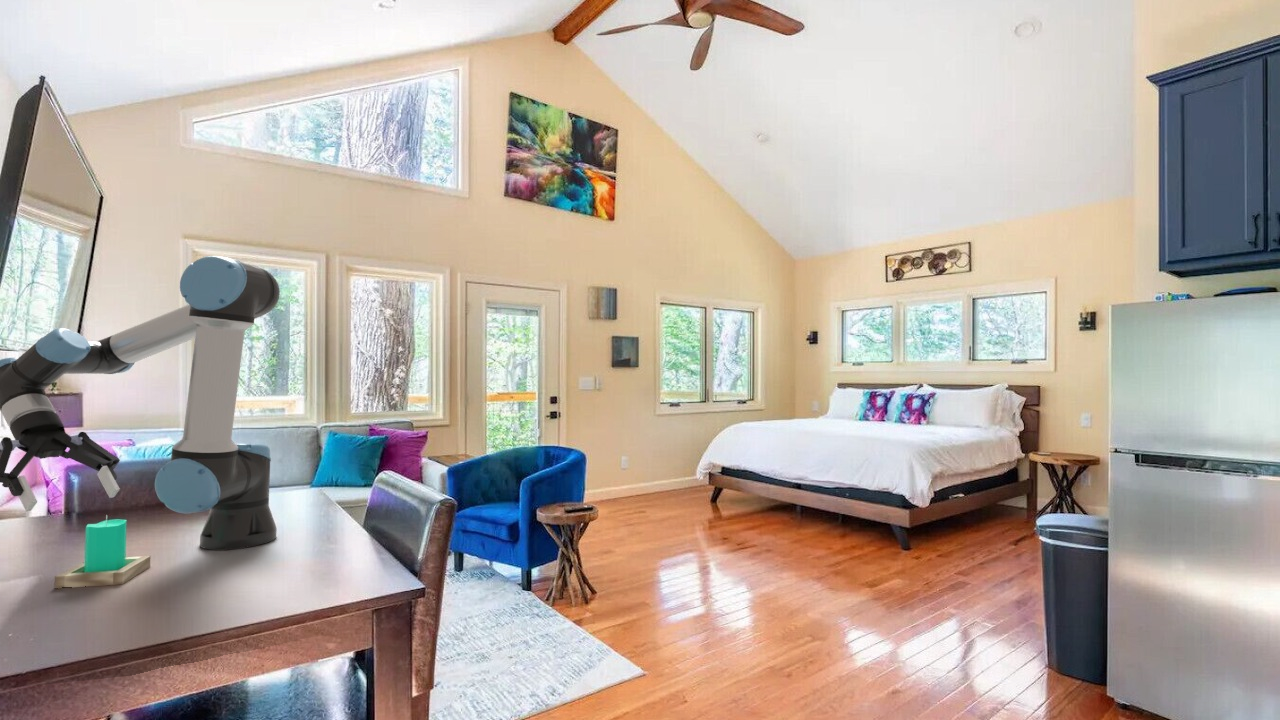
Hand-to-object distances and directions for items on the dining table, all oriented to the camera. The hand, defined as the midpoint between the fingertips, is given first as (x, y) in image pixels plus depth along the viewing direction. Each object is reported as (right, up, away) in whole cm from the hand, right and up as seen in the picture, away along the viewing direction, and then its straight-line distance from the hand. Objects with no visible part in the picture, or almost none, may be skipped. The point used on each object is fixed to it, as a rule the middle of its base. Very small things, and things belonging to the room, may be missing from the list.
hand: (75, 499), depth 122 cm
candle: (+9, -15, -3) cm, 17 cm away
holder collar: (+9, -14, -3) cm, 17 cm away
